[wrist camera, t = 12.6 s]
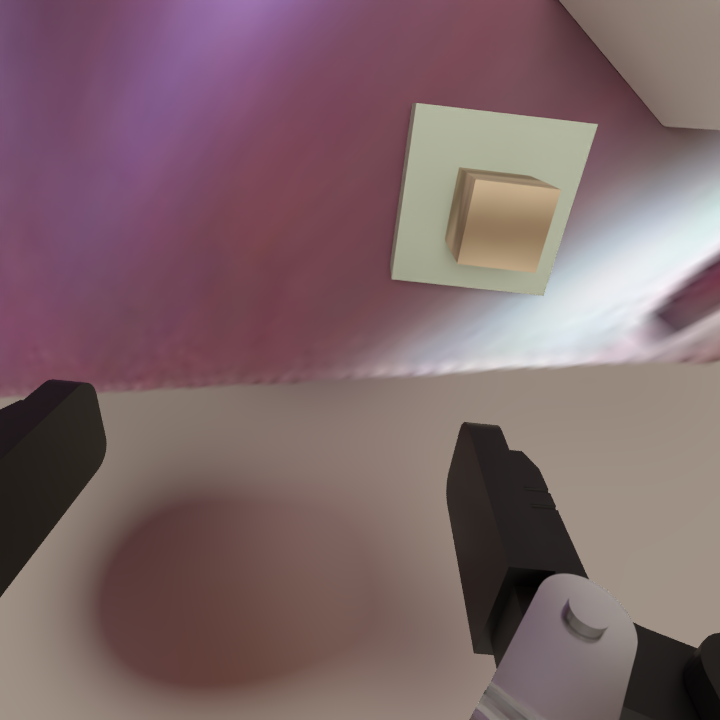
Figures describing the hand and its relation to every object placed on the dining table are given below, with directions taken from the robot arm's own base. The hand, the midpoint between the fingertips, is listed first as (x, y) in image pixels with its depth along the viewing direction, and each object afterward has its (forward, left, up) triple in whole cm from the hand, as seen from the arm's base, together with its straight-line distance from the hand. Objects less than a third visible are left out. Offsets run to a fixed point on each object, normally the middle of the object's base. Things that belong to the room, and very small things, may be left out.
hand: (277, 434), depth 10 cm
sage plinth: (-1, +10, -30) cm, 32 cm away
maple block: (-1, +10, -26) cm, 28 cm away
